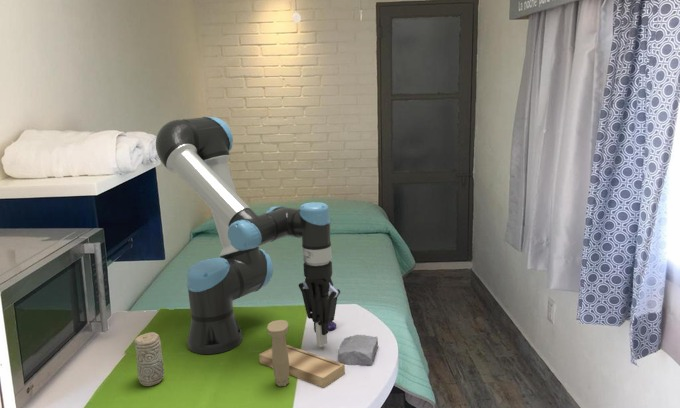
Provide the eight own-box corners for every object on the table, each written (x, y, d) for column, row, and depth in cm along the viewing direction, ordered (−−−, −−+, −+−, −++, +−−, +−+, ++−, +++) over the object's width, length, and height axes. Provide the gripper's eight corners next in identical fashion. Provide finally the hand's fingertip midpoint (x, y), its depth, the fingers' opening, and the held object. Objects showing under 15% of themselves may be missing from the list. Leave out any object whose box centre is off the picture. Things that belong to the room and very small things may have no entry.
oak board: (259, 363, 146) (259, 353, 145) (281, 351, 152) (280, 342, 151) (323, 387, 132) (323, 377, 132) (344, 373, 138) (344, 363, 138)
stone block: (337, 372, 143) (375, 366, 141) (333, 354, 142) (371, 348, 140) (346, 352, 155) (381, 346, 152) (341, 335, 154) (377, 330, 152)
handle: (271, 391, 132) (265, 332, 129) (273, 377, 138) (269, 320, 135) (291, 390, 132) (286, 330, 129) (293, 376, 138) (289, 319, 135)
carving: (142, 391, 135) (136, 345, 132) (135, 379, 141) (129, 334, 139) (169, 383, 138) (163, 338, 136) (161, 371, 144) (155, 327, 142)
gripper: (289, 261, 148) (295, 343, 153) (327, 269, 140) (331, 356, 145) (308, 254, 154) (313, 333, 159) (345, 261, 146) (349, 345, 151)
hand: (321, 344), depth 152 cm, fingers closed
